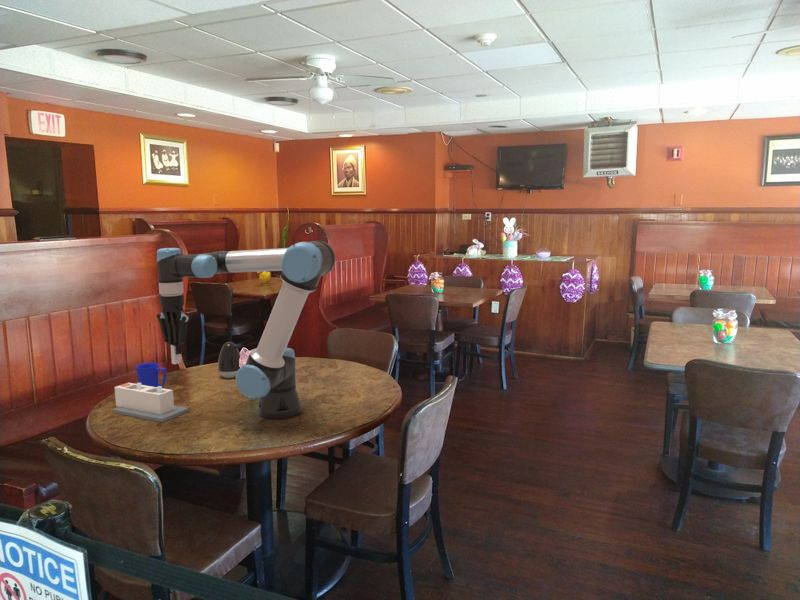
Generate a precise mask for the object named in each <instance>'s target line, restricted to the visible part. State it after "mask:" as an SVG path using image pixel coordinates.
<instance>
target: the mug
mask: <svg viewBox="0 0 800 600" xmlns="http://www.w3.org/2000/svg"><path fill="white" fill-rule="evenodd" d="M135 369H136V375H137V381H138V382H137V383H141V385H146V386H152V387H158V386H162V387H163V386H165V384H166V381H167V368H165V367H161V366H159V363H157V362H145V363H140V364H137V365H136V366H135ZM160 370H162V371H163V372H162V373H163V377H162V378H163V379H162V384H159V371H160Z"/></svg>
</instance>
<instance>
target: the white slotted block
mask: <svg viewBox="0 0 800 600" xmlns="http://www.w3.org/2000/svg"><path fill="white" fill-rule="evenodd" d="M141 386H142V389H141V390H139V389H137V385H136V383H135V382H134V383H132V382H126V383H123V384H120V385H116V386H114V398H115V406H116V407H124V408H130V409H135V410H140V411H145V412H150V413H155V414H163V413H166V412H168V411H171V410H173V409H174V405H175V401H174V390H173V389H169V388H163V387H162V393H157V387H152V386H146V385H141Z"/></svg>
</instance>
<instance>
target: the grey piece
mask: <svg viewBox="0 0 800 600" xmlns="http://www.w3.org/2000/svg"><path fill="white" fill-rule="evenodd" d="M135 384H136V385H137V389H139V390H141V389H142V386H141V383H139V382H137V383H135ZM162 388H163V386H158V387H157V393H162ZM189 412H190V408H189V407H185V406H180V405H175V404H174V409H173V410H171V411H168V412H166V413H163V414H155V413H150V412H145V411H140V410H135V409H130V408H124V407H119V406H117V407H115V408H112V413H113V414H118V415H123V416H128V417H133V418H139V419H143V420H148V421H153V422H157V423H164V422H167V421H169V420H171V419H174V418H176V417H179V416H181V415H183V414H186V413H189Z"/></svg>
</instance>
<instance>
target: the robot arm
mask: <svg viewBox="0 0 800 600" xmlns="http://www.w3.org/2000/svg"><path fill="white" fill-rule="evenodd" d="M336 260H337V258H336V254H335V250H334V249H333V247H332V246H331V245H330V244H329V243H327V242H325V241H322V240H313V241H312V240H311V241H301V242H296V243H294V244H292V245H290V246H289V247H282V248H279V247H278V248H264V249H260V248H259V249H247V250H246V249H244V250H230V251H228V250H218V251H213V252H212V251H211V252H205V253H196V254H183V253H182V250H181V248H179V247H178V248H177V247H164V248H159V249H157V251H156V266H157V273H158V274H157V275H158V290H159V292H158V293H159V295H160V296H159V304H160V307H161V308H162V309H161V312H160V314H159V313H158V314H156V318H157V319H158V322H159V325H160V329H161V334H162V338H163V341H164V343H167V344H168V345H169V353H170V359H171V364H172V365H177V364H180V363H182V352H183V350H182V344H184V343H186V342H187V336H188V335H187V334H188V326H189V321H190V320H191V316H190V315H187V314H186V313H185V310H184V308H183V307H184V305H185V295H184V294H183V293H184V278H197V279H198V278H200V279H204V278H205V279H206V278H212V277H214V275H218V274H231V273H235V274H236V273H252V272H254V273H255V272H257V273H259V272H279V271H280V272H281V273H280V276H279V277H280V279H281V282H282V285H281V288H280V290H279V292H278V295H277V297H276V300H275V302H274V305H273V307H272V309H271V312H270V314H269V317H268V318H267V319H268V320H267V322H266V324H265V328H264V330H263V333H262V335H261V337H260V339H259V342H258V344H257V347H256V348H253V349H251V351H250V352H249V354H248V357H247V359H246V362H245V364H244V365H243V366H242V367H241V368H240V369H239V370H238V371H237V373H236V377H235V384H236V387H238V390H239V392H240V393H241V394H242V395H244V396H245V397H246V398H249V399H252V400H253V399H254V400H257V399H260V400H259V403H258V406H257V410H258V411H257V413H258V415H259V416H260V417H262V418H264V419H265V418H266V419H273V420H274V419H276V420H277V419H286V418H291V417H294V416H296V415H299V414H300V413H301V412H302V410H303V406H302V405H303V404H302V402H301V399H300V396H299V393H298V390H297V381H296V380H297V379H296V378H297V377H296V375H297V374H296V359H297V358H296V355H295V350H294V349H293V348H290V347H288V344H289V342H290V340H291V338H292V336H293V332H294V330H295V327H296V325H297V323H298V321H299V318H300V315H301V314H302V311H303V308H304V306H305V304H306V301H307V299H308V296H309V294H311V293H313V292H315V291H316V290H317V287H318V284H319V282H320V281H321V280H320V279H321V277H324V276H327V275H328V274H329V273H330V272H332V270H333V269H334V267H335V264H336Z"/></svg>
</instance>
